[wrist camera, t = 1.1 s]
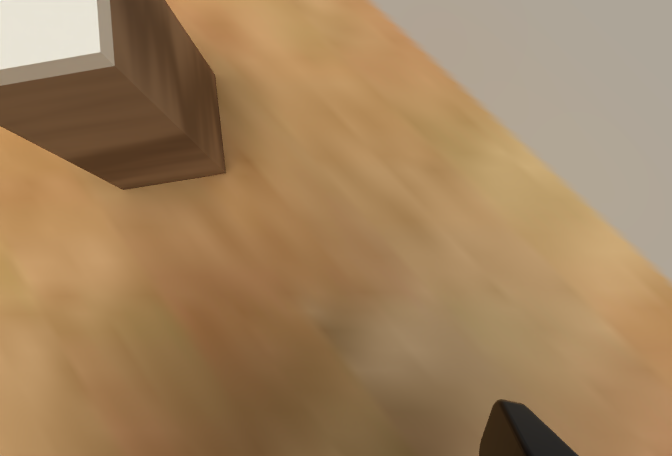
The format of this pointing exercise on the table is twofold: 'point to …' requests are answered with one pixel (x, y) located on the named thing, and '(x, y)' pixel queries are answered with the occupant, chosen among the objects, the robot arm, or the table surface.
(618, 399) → the table surface
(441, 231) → the table surface
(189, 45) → the walnut block
